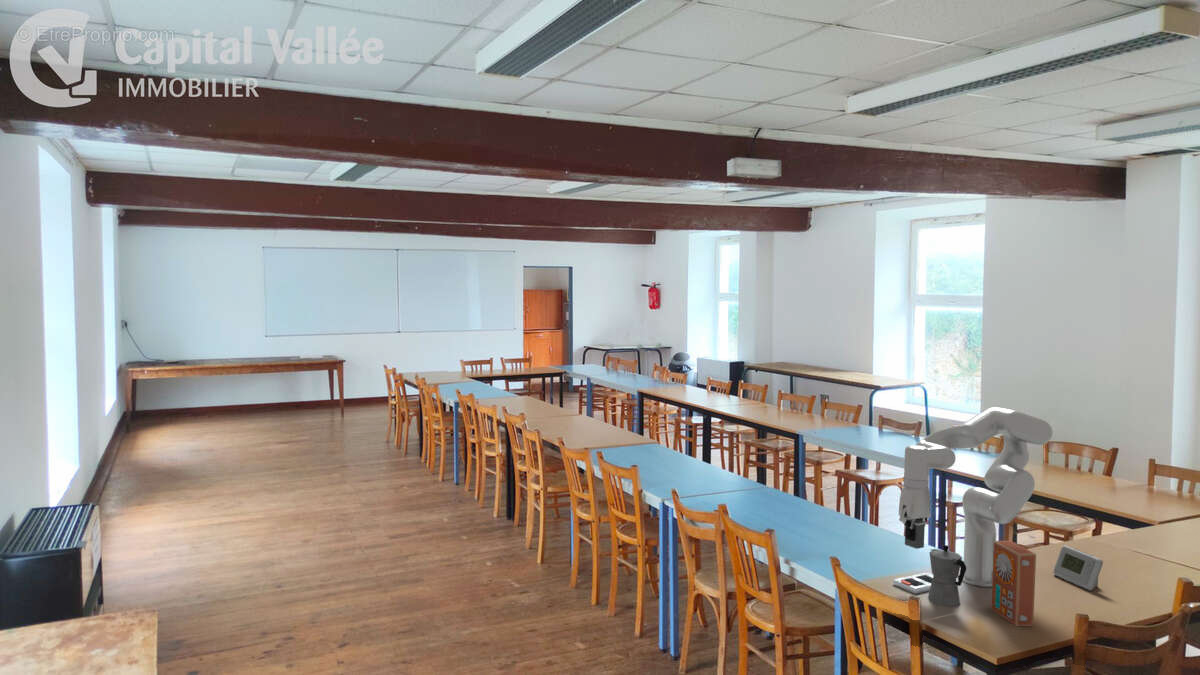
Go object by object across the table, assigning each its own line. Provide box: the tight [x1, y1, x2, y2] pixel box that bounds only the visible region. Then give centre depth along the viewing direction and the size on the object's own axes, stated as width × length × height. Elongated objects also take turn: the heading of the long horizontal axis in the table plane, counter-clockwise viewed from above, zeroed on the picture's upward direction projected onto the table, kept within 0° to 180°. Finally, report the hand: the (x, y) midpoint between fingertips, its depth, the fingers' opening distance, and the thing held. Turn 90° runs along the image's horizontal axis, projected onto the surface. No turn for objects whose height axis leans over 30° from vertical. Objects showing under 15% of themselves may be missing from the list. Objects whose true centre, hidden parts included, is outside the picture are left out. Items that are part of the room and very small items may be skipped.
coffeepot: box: [927, 544, 966, 607], centre depth 239 cm, size 15×9×18 cm, turn 14°
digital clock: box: [1053, 545, 1104, 591], centre depth 258 cm, size 16×9×11 cm, turn 0°
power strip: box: [892, 572, 933, 595], centre depth 253 cm, size 16×9×2 cm, turn 117°
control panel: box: [990, 540, 1037, 627], centre depth 228 cm, size 21×7×15 cm
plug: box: [904, 519, 926, 550], centre depth 250 cm, size 4×5×8 cm
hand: (914, 538), depth 251 cm, fingers closed on plug, 3 cm apart
